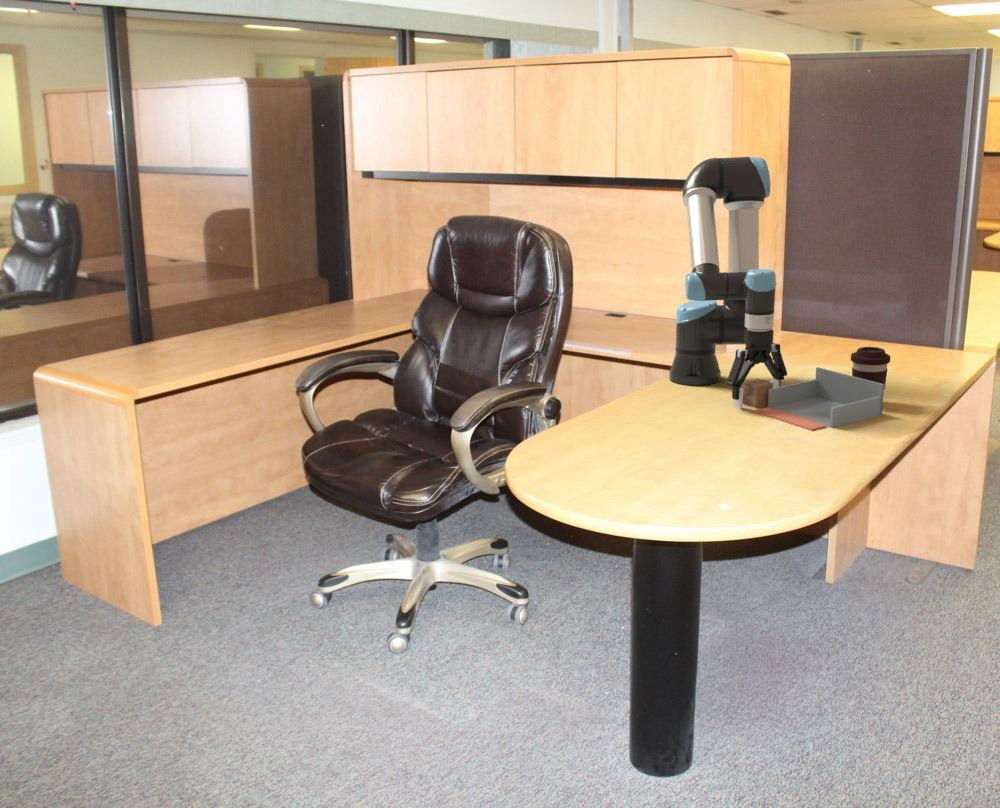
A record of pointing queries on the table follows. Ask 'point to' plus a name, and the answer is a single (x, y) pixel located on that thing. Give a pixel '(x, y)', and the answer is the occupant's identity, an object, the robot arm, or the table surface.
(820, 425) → the panel
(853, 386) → the truck bed
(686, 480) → the table surface
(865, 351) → the coffee cup
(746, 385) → the walnut block
